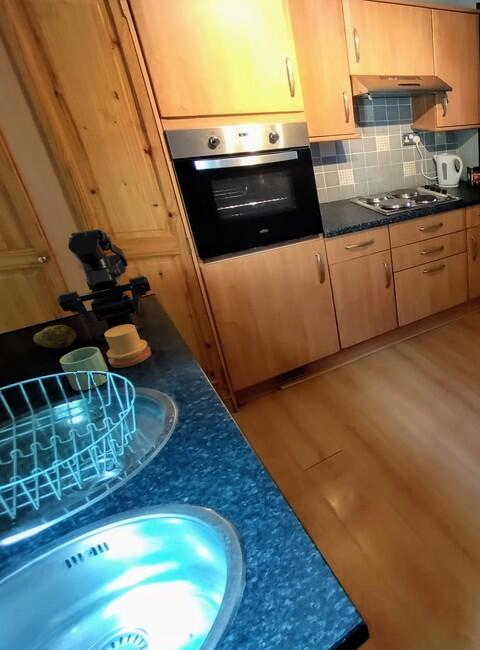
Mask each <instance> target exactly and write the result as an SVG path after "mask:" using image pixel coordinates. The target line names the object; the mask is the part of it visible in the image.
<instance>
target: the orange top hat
mask: <svg viewBox="0 0 480 650" xmlns="http://www.w3.org/2000/svg"><path fill="white" fill-rule="evenodd" d="M135 326H136V325H135ZM135 326H134V325H132V324H125V325H120V326H116V327H114V328H111V329H109V328H108V329H107V330H106V331H105V332H104V334H103V335H104V338H105V340H106V342H107V345H108V347H109V348H108V350H107V351H106V356H107V358H108V359H109V358H111V359H119V360H126V359H130V358H133V357H136V356H137V355H139V354H140V353H141V351H143V350H144V349H145V348H146V347H147V346H148V342H147V340H145V339H141V338H140V335H139V333H138V331H137V330H136V328H135Z"/></svg>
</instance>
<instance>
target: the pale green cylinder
mask: <svg viewBox="0 0 480 650" xmlns="http://www.w3.org/2000/svg"><path fill="white" fill-rule="evenodd" d="M59 364H60V366H61V368H62V370H63V372H64V373H65V372H77V371H109V372H110V370H109V368H108V366H107V364H106V362H105V359H104V356H103V354H102V352H101V349H100V348H99V347H97V346H87V347H81V348H78V349H74V350H72V351H70V352H68V353H66V354H64V355H63V356H61V358H60V359H59ZM65 376H66V378H67V380H68V383H69V384H70V386H71V388H72V389H73V390H74V391H78V392H81V391H88V390H89V389H88V375H87V374H84V373H81V374H77V378H78V381H79V383H80V385H81V391H79V388H78V386H77V383H76V375H75V374H69V375H66V374H65ZM93 380H94V382H95V383H96V384H97V387H100V386H102V385H103V384H105V383H106V382H108V380H107V379H106V376H104V375H101V374H94V375H93ZM95 388H96V387H95V385H94V384H93V385H91V389H90V390H92V389H95Z"/></svg>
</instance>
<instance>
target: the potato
mask: <svg viewBox="0 0 480 650" xmlns="http://www.w3.org/2000/svg"><path fill="white" fill-rule="evenodd" d="M32 338H33V339H32V341H33V342H34V343H35V344H36V345H37V346H40V347H43V348H47V349H57V350H59V349H63V348H67V347H70V346H71V345H72V344H73V343H74V341H75V340H76V339H77V333H76V331H75V330H74V329H73V328H72V327H70V326H68V325H65V324H57V325H56V324H55V325H50V326H47V327H45V328H43V329H42V330H41V331H38V332H37V333H35V334H34V335H33V337H32Z"/></svg>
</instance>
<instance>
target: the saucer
mask: <svg viewBox="0 0 480 650" xmlns="http://www.w3.org/2000/svg"><path fill="white" fill-rule="evenodd" d="M151 355H152V351H151V347H149V346H148V345H147V347H146V348H145V349H144V350H143V351H141V353H140V354H139V355H137V356H136V357H133V358H130V359H126V360H119V359H111V358H109V357H108V360H107V361H108V364H109V366H110V367H111V368H114V369H115V368H116V369H123V368H129V367H132V366H135V365H138V364H140V363H142V362H144V361H145V360H147V359H148V358H149V357H150V356H151Z"/></svg>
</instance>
